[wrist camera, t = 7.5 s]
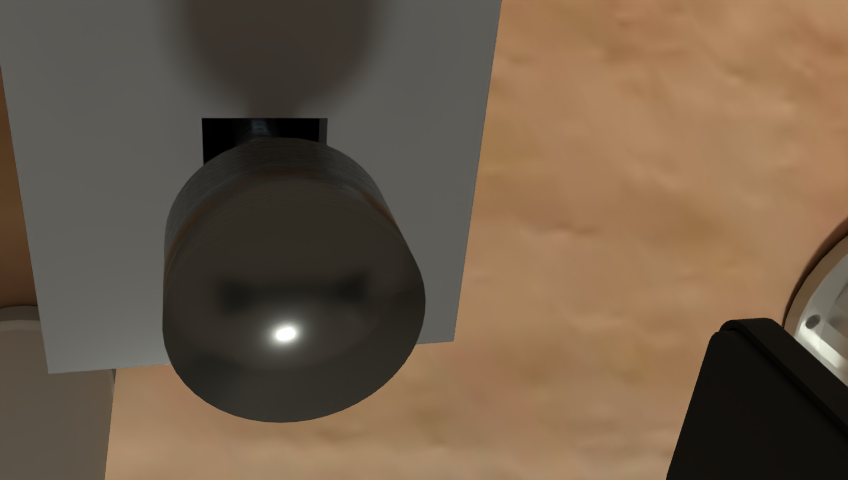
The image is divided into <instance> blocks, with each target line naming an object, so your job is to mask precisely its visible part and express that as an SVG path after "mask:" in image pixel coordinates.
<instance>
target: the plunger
mask: <svg viewBox="0 0 848 480" xmlns="http://www.w3.org/2000/svg"><path fill="white" fill-rule="evenodd" d="M295 119H297V118H202V132H203V133H206V134H210V135H213V136H218V137H224V138H234V142H235V147H234V148H232V149H229V150H227V151H225V152H223V153H221V154H219V155H218V156H216V157H215V158H213V159H211V160H210V161H208V162H207V163H206V164H205V165H203V166H202V167H201V168H200V169H198V170H197V171H196V172H195V173H194V174H193V175H192V176H191V177H190V179H189V180H188V181H187V182H186V183H185V185H184V186H183V187H182V189H181V190H180V192H179V193H178V195H177V197H176V199H175V200H174V202H173V204H172V206H171V209H170V212H169V215H168V218H167V222H166V228H165V237H164V275H163V314H162V332H163V339H164V345H165V348H166V351H167V354H168V357H169V360H170V362H171V364H172V366H173V367H174V369H175V371H176V373H177V374H178V375H179V377H180V378H181V379H182V381H183V382H184V383H185V384H186V385H187V386H188V387H189V388H190V389H191V390H192V391H193V392H194V393H195V394H196V395H197V396H199V397H200V398H201V399H203V400H204V401H206V402H207V403H209V404H210V405H212V406H214V407H216V408H218V409H220V410H222V411H224V412H227V413H229V414H232V415H234V416H238V417H242V418H246V419H249V420H256V421H262V422H277V423H284V422H299V421H305V420H312V419H316V418H320V417H324V416H328V415H331V414H333V413H336V412H339V411H342V410H344V409H346V408H348V407H350V406H352V405H355V404H357V403H358V402H360V401H362V400H363V399H365V398H367V397H368V396H370V395H371V394H373V393H374V392H375V391H377V390H378V389H379V388H381V387H382V386H383V385H384V384H385V383H386V382H388V381H389V380H390V379H391V378H392V377H393V376H394V375H395V374H396V373H397V371H398V370H399V369H400V368H401V367H402V365H403V364H404V363H405V361H406V360H407V358H408V357H409V355H410V354H411V352H412V350H413V348H414V346H415V344H416V342H417V340H418V338H419V335H420V332H421V329H422V326H423V321H424V316H425V304H426V297H425V288H424V283H423V279H422V275H421V272H420V270H419V267H418V265H417V263H416V261H415V259H414V257H413V255H412V253H411V251H410V249H409V247H408V245H407V243H406V241H405V239H404V237H403V235H402V233H401V231H400V229H399V227H398V225H397V223H396V221H395V219H394V217H393V215H392V213H391V211H390V209H389V207H388V205H387V203H386V201H385V199H384V197H383V195H382V193H381V191H380V189H379V188H378V186H377V185H376V183H375V182H374V180H373V179H372V177H371V176H370V175H369V174H368V173H367V172H366V171H365V169H364V168H363V167H361V166H360V165H359V164H358V163H357V162H356V161H354V160H353V159H352V158H350V157H349V156H347V155H345V154H344V153H342V152H341V151H338V150H336V149H334V148H332V147H330V146H328V145H324V144H321V143H318V142H315V141H310V140H305V139H299V138H281V136H280V133H279V129H281V128H283V127H285V126H286V125H288V124H289V123H291V122H293V121H294V120H295Z"/></svg>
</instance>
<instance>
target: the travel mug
mask: <svg viewBox="0 0 848 480" xmlns="http://www.w3.org/2000/svg"><path fill="white" fill-rule="evenodd" d="M115 374H116V369H103V370H91V371H79V372H66V373H54V374H49V373H48V367H47V360H46V354H45V347H44V341H43V335H42V328H41V322H40V315H39V309H38V306H14V307H6V308H1V309H0V480H105V471H106V461H107V451H108V442H109V432H110V422H111V413H112V403H113V393H114V384H115Z"/></svg>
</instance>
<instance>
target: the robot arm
mask: <svg viewBox="0 0 848 480" xmlns="http://www.w3.org/2000/svg"><path fill="white" fill-rule="evenodd" d="M666 480H848V236H846V237H845V238H844V239H842V240H841V241H840V242H839V243H838V244H837V245H836V246H835V247H834V248H833V249H832V250H831V251H830V252H829V253H828V254H826V255H825V256H824V257H823V258H822V260H821V261H820V262H819V263H818V265H817V266H816V267H815V268H814V270H813V271H812V272H811V273H810V275H809V276H808V277H807V278H806V280H805V282H804V283H803V285H802V287H801V288H800V290H799V292H798V293H797V295H796V297H795V299H794V301H793V303H792V306H791V308H790V311H789V313H788V315H787V318H786V322H785V327H784V328H783V327H781V326H780V325H779V324H778V323H777V322H775V321H774V320H772V319H769V318H754V319H738V320H730V321H727V322H725V323H724V324H723V325H722V326H721V328H720V330H719V332H716V333H714V334H713V335H712V337H711V339H710V341H709V344H708V347H707V350H706V353H705V357H704V360H703V363H702V366H701V369H700V372H699V376H698V379H697V382H696V385H695V388H694V391H693V394H692V398H691V401H690V404H689V407H688V410H687V413H686V416H685V420H684V423H683V426H682V429H681V432H680V435H679V439H678V442H677V445H676V448H675V451H674V454H673V457H672V461H671V464H670V467H669V470H668V473H667V477H666Z"/></svg>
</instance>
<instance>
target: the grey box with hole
mask: <svg viewBox="0 0 848 480" xmlns="http://www.w3.org/2000/svg"><path fill="white" fill-rule="evenodd" d="M501 1H502V0H0V66H1V73H2V79H3V86H4V92H5V98H6V105H7V111H8V118H9V124H10V130H11V137H12V143H13V149H14V156H15V162H16V169H17V175H18V181H19V188H20V194H21V201H22V207H23V213H24V220H25V226H26V232H27V239H28V245H29V252H30V258H31V264H32V271H33V277H34V284H35V290H36V296H37V303H38V309H39V315H40V322H41V328H42V335H43V341H44V347H45V354H46V360H47V367H48V373H49V374H54V373H66V372H79V371H91V370H103V369H116V368H128V367H141V366H153V365H165V364H171V362H170V360H169V357H168V354H167V351H166V348H165V345H164V339H163V332H162V314H163V275H164V237H165V228H166V222H167V218H168V215H169V212H170V209H171V206H172V204H173V202H174V200H175V199H176V197H177V195H178V193H179V192H180V190H181V189H182V187H183V186H184V185H185V183H186V182H187V181H188V180H189V179H190V177H191V176H192V175H193V174H194V173H195V172H196V171H197V170H198V169H200V168H201V167H202V166H203V165H205V164H206V163H207V162H208V161H210V160H211V159H213V158H215V157H216V156H218V155H219V154H221V153H223V152H225V151H227V150H229V149H232V148H234V147H235V142H234V138H224V137H218V136H213V135H210V134H206V133H203V132H202V118H297V119H295V120H294V121H293V122H291V123H289V124H288V125H286V126H285V127H283V128H281V129H279V133H280V136H281V138H299V139H305V140H310V141H315V142H318V143H321V144H324V145H328V146H330V147H332V148H334V149H336V150H338V151H341V152H342V153H344V154H345V155H347V156H349V157H350V158H352V159H353V160H354V161H356V162H357V163H358V164H359V165H360V166H361V167H363V168H364V169H365V171H366V172H367V173H368V174H369V175H370V176H371V177H372V179H373V180H374V182H375V183H376V185H377V186H378V188H379V189H380V191H381V193H382V195H383V197H384V199H385V201H386V203H387V205H388V207H389V209H390V211H391V213H392V215H393V217H394V219H395V221H396V223H397V225H398V227H399V229H400V231H401V233H402V235H403V237H404V239H405V241H406V243H407V245H408V247H409V249H410V251H411V253H412V255H413V257H414V259H415V261H416V263H417V265H418V267H419V270H420V272H421V275H422V279H423V283H424V288H425V297H426V304H425V316H424V321H423V326H422V329H421V332H420V335H419V338H418V340H417V342H416V344H426V343H438V342H451V341H454V334H455V327H456V320H457V313H458V305H459V298H460V291H461V284H462V277H463V270H464V263H465V256H466V249H467V242H468V235H469V228H470V221H471V213H472V206H473V199H474V192H475V185H476V178H477V171H478V164H479V157H480V150H481V143H482V136H483V129H484V121H485V114H486V107H487V100H488V93H489V86H490V79H491V72H492V65H493V58H494V51H495V44H496V37H497V30H498V22H499V15H500V8H501Z"/></svg>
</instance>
